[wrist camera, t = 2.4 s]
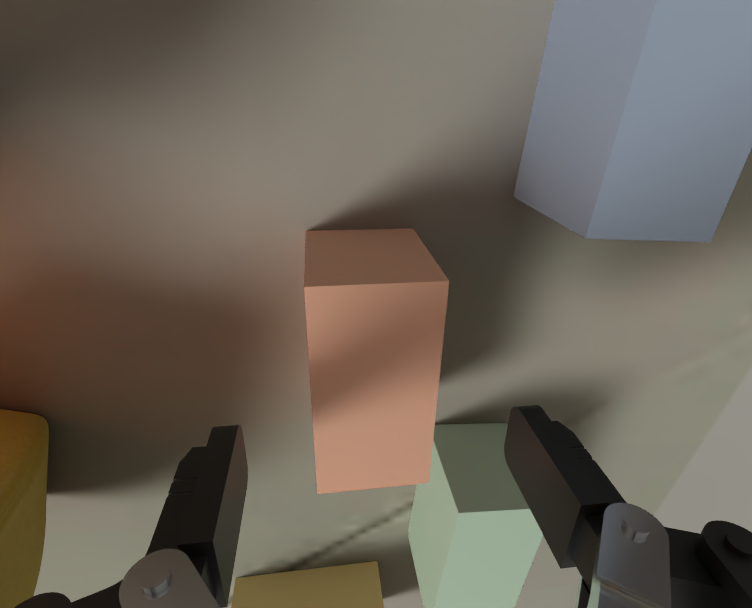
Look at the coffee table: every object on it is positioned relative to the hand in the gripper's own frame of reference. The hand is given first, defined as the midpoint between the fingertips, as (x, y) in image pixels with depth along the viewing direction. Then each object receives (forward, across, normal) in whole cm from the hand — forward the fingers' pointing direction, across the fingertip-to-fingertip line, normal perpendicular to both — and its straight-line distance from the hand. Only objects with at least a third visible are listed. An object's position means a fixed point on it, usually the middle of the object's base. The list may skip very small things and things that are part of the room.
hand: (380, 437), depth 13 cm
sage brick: (+6, -5, +9) cm, 12 cm away
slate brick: (+6, -8, -10) cm, 14 cm away
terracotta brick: (+6, 0, -1) cm, 6 cm away
